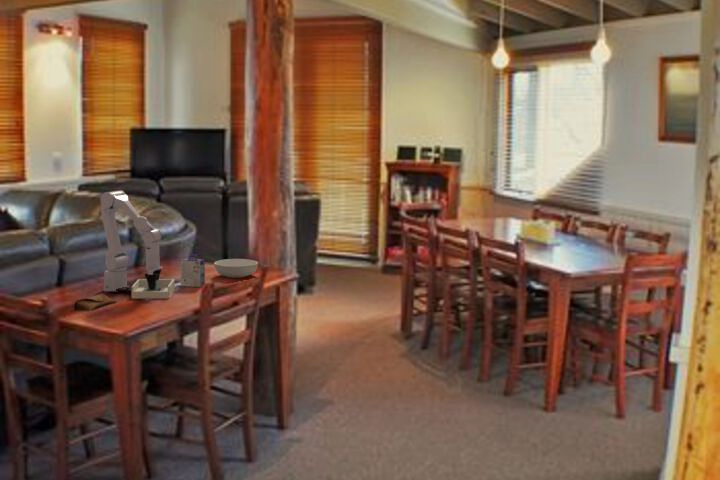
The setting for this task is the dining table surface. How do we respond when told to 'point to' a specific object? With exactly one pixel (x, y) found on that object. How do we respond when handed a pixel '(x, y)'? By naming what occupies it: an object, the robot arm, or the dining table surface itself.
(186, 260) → the ink cartridge box
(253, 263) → the serving bowl
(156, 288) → the block
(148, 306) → the dining table surface
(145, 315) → the dining table surface
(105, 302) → the sunglasses case
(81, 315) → the dining table surface
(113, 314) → the dining table surface
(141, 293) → the walled box
